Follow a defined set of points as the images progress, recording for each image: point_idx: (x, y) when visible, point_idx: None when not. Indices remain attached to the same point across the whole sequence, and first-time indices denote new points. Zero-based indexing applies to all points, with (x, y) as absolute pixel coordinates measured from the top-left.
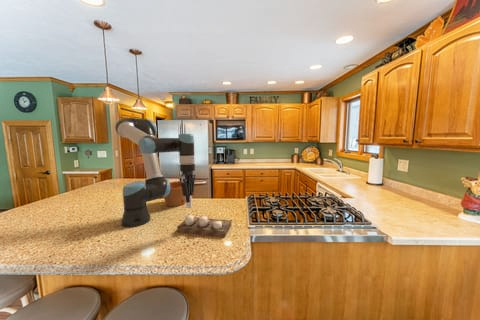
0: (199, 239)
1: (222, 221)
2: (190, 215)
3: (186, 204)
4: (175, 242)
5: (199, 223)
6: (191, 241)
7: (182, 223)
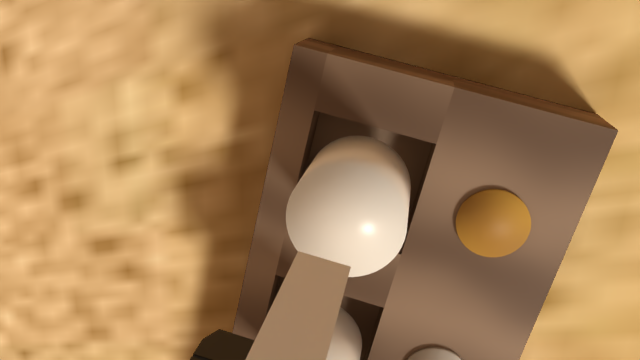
0: (170, 281)
1: None
2: (389, 232)
3: (280, 290)
4: (107, 79)
5: None
6: (135, 219)
7: (385, 89)
